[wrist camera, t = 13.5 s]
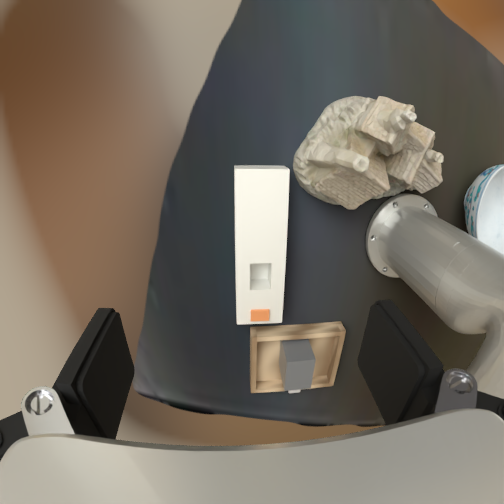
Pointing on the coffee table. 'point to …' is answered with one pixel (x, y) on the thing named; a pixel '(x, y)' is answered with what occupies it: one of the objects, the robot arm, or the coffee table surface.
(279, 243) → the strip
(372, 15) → the coffee table surface
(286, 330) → the tray
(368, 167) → the ceramic cottage
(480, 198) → the chinaware
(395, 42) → the coffee table surface
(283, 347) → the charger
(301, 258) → the coffee table surface
